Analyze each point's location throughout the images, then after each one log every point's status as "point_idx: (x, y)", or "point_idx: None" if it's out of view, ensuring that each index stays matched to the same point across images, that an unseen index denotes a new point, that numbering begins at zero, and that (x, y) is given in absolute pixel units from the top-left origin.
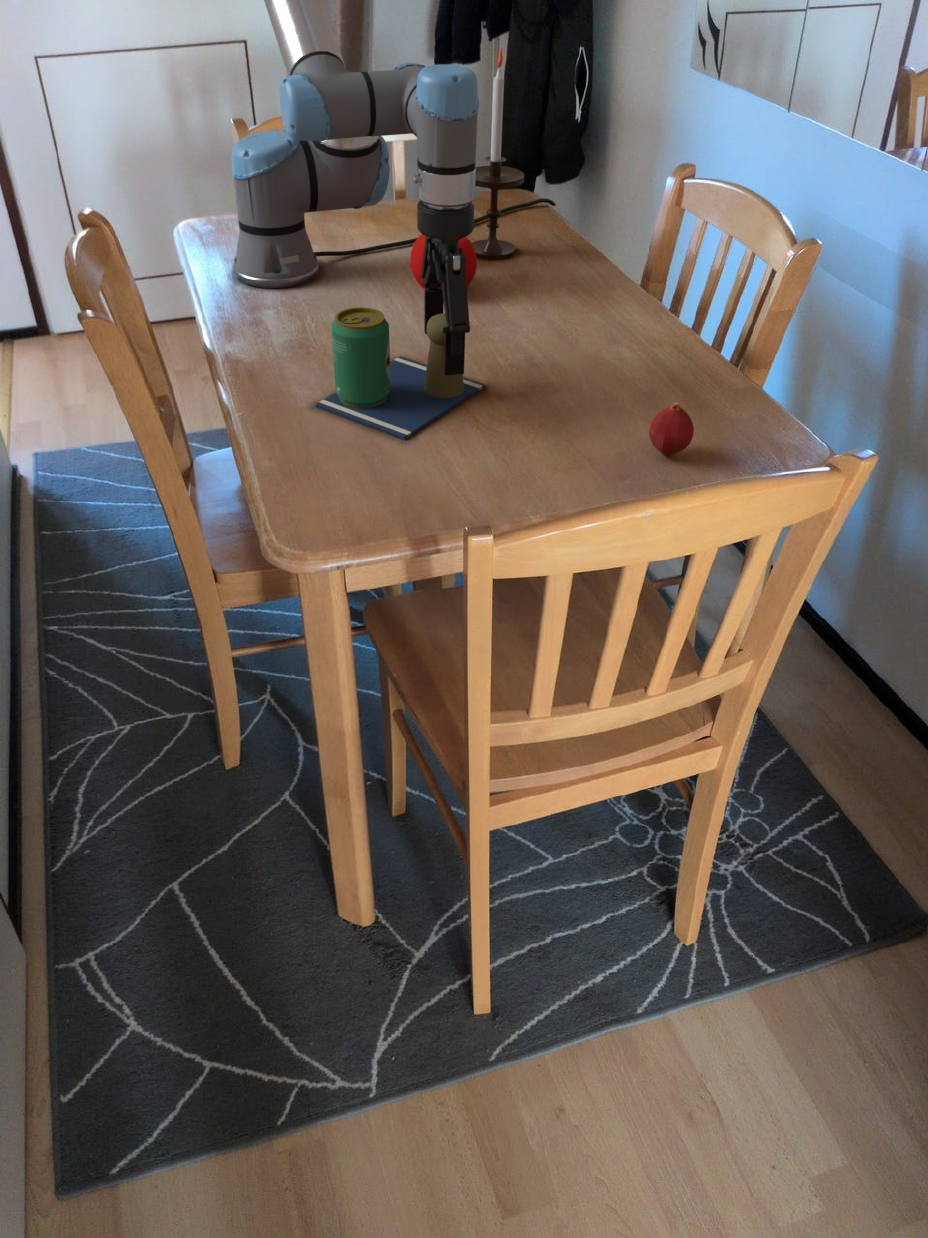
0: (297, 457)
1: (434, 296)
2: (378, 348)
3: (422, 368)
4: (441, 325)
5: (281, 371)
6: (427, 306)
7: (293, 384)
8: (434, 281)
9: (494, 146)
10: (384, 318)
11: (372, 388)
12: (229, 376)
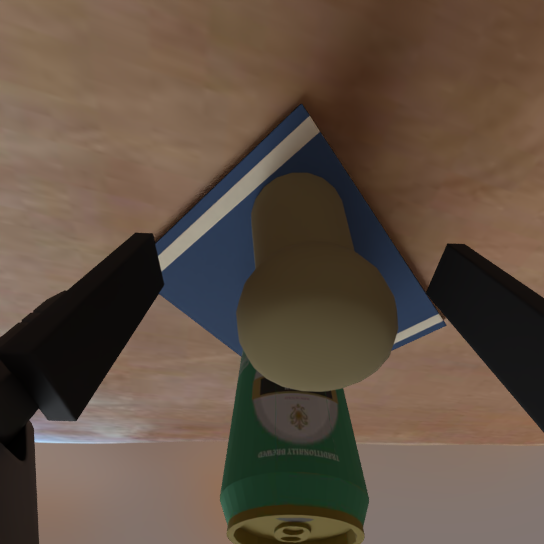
0: (408, 417)
1: (77, 364)
2: (356, 450)
3: (189, 241)
4: (375, 371)
5: (181, 406)
6: (117, 349)
7: (221, 401)
8: (12, 466)
9: None
10: (306, 503)
11: None
12: (192, 440)
